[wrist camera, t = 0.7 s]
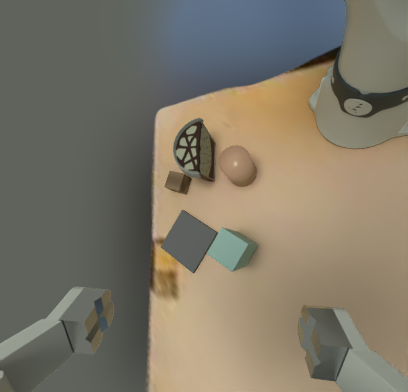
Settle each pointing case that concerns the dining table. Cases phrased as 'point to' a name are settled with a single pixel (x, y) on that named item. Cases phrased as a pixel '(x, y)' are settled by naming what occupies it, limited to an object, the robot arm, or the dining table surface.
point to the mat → (189, 241)
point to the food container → (195, 150)
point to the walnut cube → (178, 182)
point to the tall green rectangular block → (232, 249)
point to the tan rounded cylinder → (237, 166)
